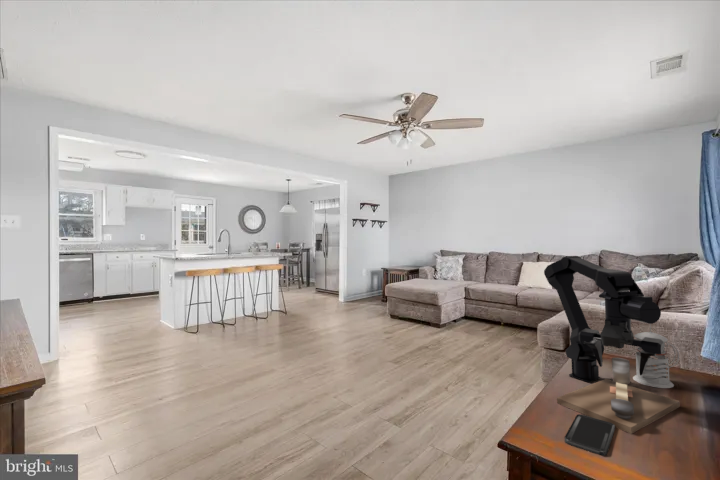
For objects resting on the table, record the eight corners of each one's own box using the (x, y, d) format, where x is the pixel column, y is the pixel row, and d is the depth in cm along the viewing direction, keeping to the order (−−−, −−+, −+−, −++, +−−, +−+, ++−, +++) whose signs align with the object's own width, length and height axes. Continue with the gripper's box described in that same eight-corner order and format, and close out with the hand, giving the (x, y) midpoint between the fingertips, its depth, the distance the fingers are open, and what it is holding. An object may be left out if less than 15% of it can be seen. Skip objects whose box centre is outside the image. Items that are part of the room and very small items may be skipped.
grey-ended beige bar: (634, 417, 79) (632, 384, 79) (611, 412, 82) (609, 380, 82) (631, 386, 95) (630, 359, 95) (611, 383, 98) (610, 356, 98)
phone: (563, 439, 75) (577, 413, 86) (563, 444, 75) (577, 417, 86) (606, 453, 69) (615, 423, 80) (606, 459, 69) (616, 428, 80)
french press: (626, 374, 111) (623, 298, 111) (668, 376, 108) (665, 299, 108) (642, 386, 101) (638, 304, 102) (689, 389, 98) (685, 304, 98)
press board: (557, 403, 93) (556, 394, 93) (606, 383, 104) (606, 375, 104) (631, 434, 77) (630, 423, 77) (679, 406, 89) (679, 397, 89)
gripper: (570, 315, 97) (573, 369, 97) (655, 326, 83) (658, 389, 83) (583, 309, 104) (585, 359, 104) (663, 318, 90) (666, 376, 90)
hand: (620, 370), depth 95 cm, fingers open, 9 cm apart
